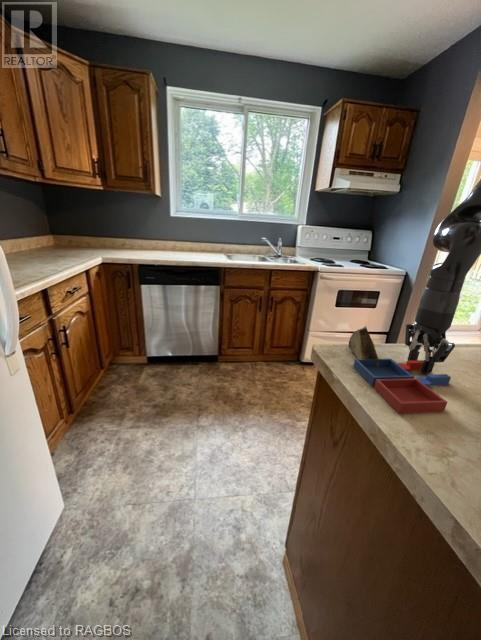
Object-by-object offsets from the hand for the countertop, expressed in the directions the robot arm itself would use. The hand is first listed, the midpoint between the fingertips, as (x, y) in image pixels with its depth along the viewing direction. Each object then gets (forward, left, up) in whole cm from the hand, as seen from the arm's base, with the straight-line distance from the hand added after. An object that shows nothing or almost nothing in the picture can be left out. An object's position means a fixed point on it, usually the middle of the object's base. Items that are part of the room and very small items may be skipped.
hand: (418, 367), depth 72 cm
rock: (+12, -6, 0) cm, 14 cm away
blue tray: (+12, +3, 0) cm, 13 cm away
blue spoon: (+2, +7, 0) cm, 7 cm away
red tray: (+12, +13, 0) cm, 18 cm away
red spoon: (+2, 0, 0) cm, 2 cm away
